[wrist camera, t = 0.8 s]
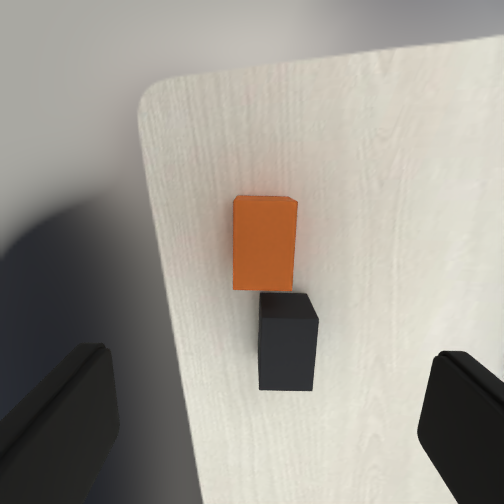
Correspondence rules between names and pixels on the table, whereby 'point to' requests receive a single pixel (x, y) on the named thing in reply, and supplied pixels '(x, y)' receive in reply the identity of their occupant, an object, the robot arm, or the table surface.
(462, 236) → the table surface
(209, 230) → the table surface
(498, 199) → the table surface
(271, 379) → the black block
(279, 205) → the orange block
